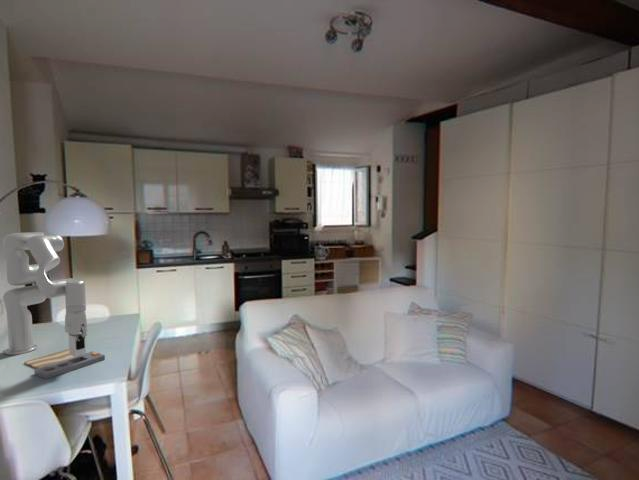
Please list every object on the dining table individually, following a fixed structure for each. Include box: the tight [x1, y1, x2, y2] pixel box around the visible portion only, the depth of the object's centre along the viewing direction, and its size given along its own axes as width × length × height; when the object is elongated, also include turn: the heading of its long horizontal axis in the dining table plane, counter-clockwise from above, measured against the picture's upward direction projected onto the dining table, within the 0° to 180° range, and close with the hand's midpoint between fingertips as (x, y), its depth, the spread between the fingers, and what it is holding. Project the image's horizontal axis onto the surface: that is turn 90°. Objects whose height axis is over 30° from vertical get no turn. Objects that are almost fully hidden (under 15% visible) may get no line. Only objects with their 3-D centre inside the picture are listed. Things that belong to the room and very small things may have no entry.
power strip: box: [33, 351, 106, 380], centre depth 164 cm, size 10×24×3 cm, turn 150°
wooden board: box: [24, 348, 76, 369], centre depth 171 cm, size 14×18×1 cm
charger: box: [68, 332, 87, 356], centre depth 166 cm, size 5×5×10 cm
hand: (77, 347), depth 166 cm, fingers closed on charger, 4 cm apart
